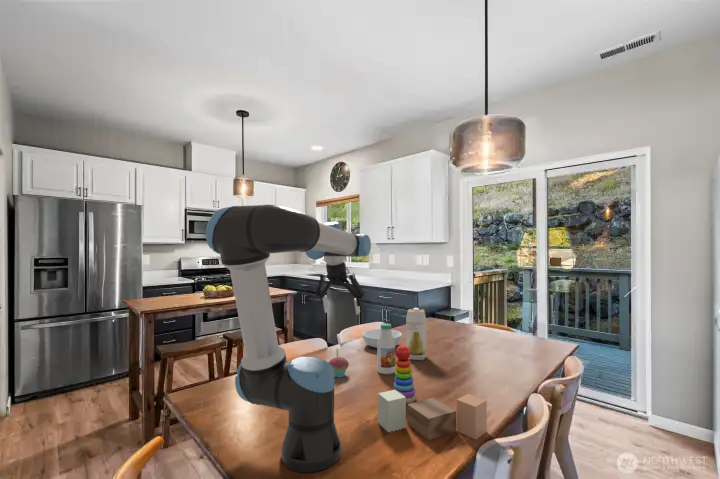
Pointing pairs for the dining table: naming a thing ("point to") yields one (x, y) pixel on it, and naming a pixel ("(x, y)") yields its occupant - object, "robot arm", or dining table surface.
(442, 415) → the walnut block
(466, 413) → the terracotta block
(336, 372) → the cupcake
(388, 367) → the milk bottle
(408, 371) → the stacking toy
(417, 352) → the juice carton
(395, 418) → the sage block
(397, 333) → the serving bowl
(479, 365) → the dining table surface
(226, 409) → the dining table surface
